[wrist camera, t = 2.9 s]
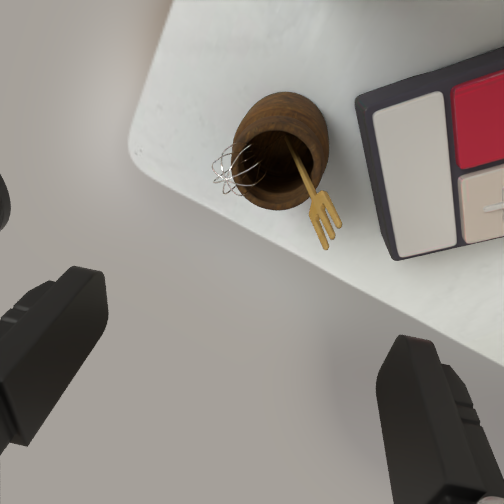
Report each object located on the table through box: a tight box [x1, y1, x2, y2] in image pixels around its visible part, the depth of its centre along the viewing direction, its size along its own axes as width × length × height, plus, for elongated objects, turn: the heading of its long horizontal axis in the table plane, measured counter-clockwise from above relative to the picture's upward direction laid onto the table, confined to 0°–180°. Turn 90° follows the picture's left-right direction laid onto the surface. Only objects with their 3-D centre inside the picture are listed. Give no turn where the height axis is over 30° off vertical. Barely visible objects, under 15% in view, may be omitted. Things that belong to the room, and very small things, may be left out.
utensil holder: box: [212, 92, 342, 250], centre depth 21 cm, size 6×6×12 cm
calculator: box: [355, 47, 504, 261], centre depth 22 cm, size 11×4×15 cm
